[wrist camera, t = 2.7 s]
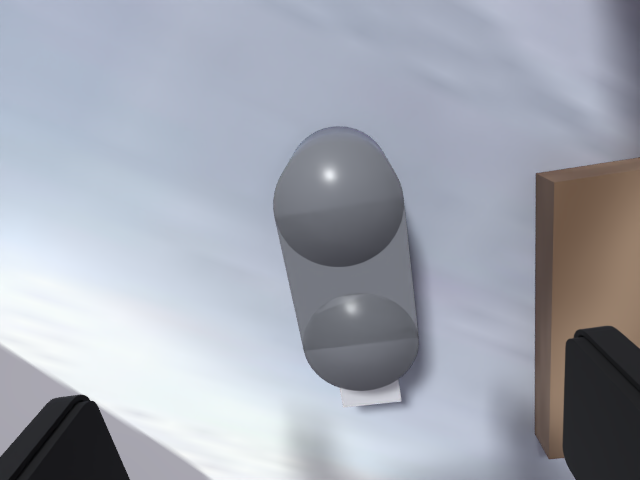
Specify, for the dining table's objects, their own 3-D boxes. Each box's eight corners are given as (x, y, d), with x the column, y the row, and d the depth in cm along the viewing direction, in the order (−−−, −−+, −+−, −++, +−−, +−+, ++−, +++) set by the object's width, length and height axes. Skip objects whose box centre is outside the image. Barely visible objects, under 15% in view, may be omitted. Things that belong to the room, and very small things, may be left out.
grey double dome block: (382, 118, 16) (396, 130, 12) (411, 361, 20) (428, 427, 16) (278, 135, 16) (260, 154, 13) (326, 371, 20) (322, 437, 16)
